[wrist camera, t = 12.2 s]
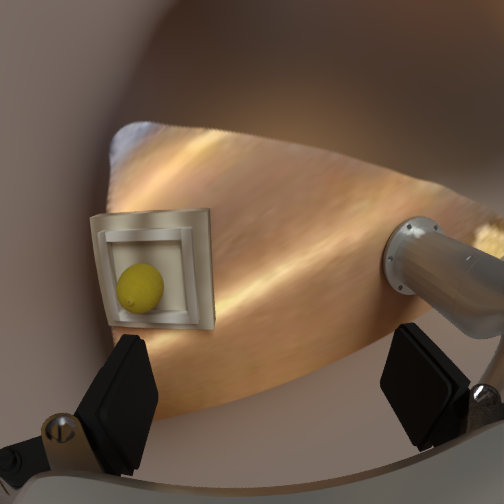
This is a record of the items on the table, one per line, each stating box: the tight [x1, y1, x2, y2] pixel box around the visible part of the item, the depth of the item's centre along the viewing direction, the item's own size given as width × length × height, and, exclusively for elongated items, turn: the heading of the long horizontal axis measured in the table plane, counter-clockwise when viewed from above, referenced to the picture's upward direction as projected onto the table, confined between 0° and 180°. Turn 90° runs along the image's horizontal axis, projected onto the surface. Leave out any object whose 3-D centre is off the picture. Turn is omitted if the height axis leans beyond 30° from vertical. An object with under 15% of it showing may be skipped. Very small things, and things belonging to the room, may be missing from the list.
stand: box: [90, 208, 216, 330], centre depth 36 cm, size 16×16×4 cm
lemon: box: [116, 263, 164, 314], centre depth 31 cm, size 6×6×8 cm
